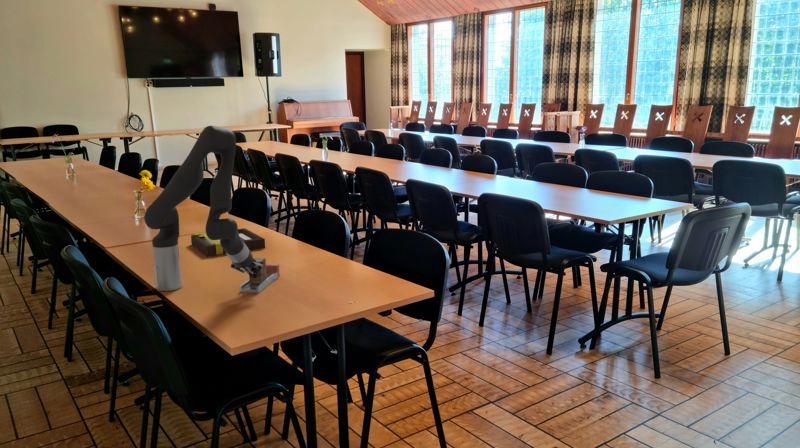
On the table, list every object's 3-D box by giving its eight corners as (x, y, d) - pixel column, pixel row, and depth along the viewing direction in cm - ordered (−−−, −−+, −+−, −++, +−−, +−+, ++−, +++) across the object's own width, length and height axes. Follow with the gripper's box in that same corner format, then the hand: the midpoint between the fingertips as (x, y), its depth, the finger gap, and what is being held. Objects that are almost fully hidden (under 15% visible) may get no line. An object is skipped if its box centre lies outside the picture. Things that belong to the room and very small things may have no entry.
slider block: (261, 283, 235) (260, 261, 233) (249, 283, 236) (248, 261, 234) (266, 280, 240) (265, 258, 238) (254, 279, 240) (253, 257, 238)
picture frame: (206, 244, 279) (189, 232, 303) (207, 258, 280) (190, 245, 305) (265, 236, 294) (244, 225, 318) (265, 249, 295) (245, 237, 320)
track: (258, 293, 229) (257, 280, 228) (239, 292, 230) (238, 279, 229) (279, 276, 250) (279, 264, 249) (262, 275, 251) (261, 263, 250)
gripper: (258, 245, 220) (272, 268, 235) (224, 243, 223) (241, 266, 237) (253, 263, 216) (268, 285, 231) (219, 261, 219) (236, 283, 233)
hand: (254, 275), depth 234 cm, fingers closed
